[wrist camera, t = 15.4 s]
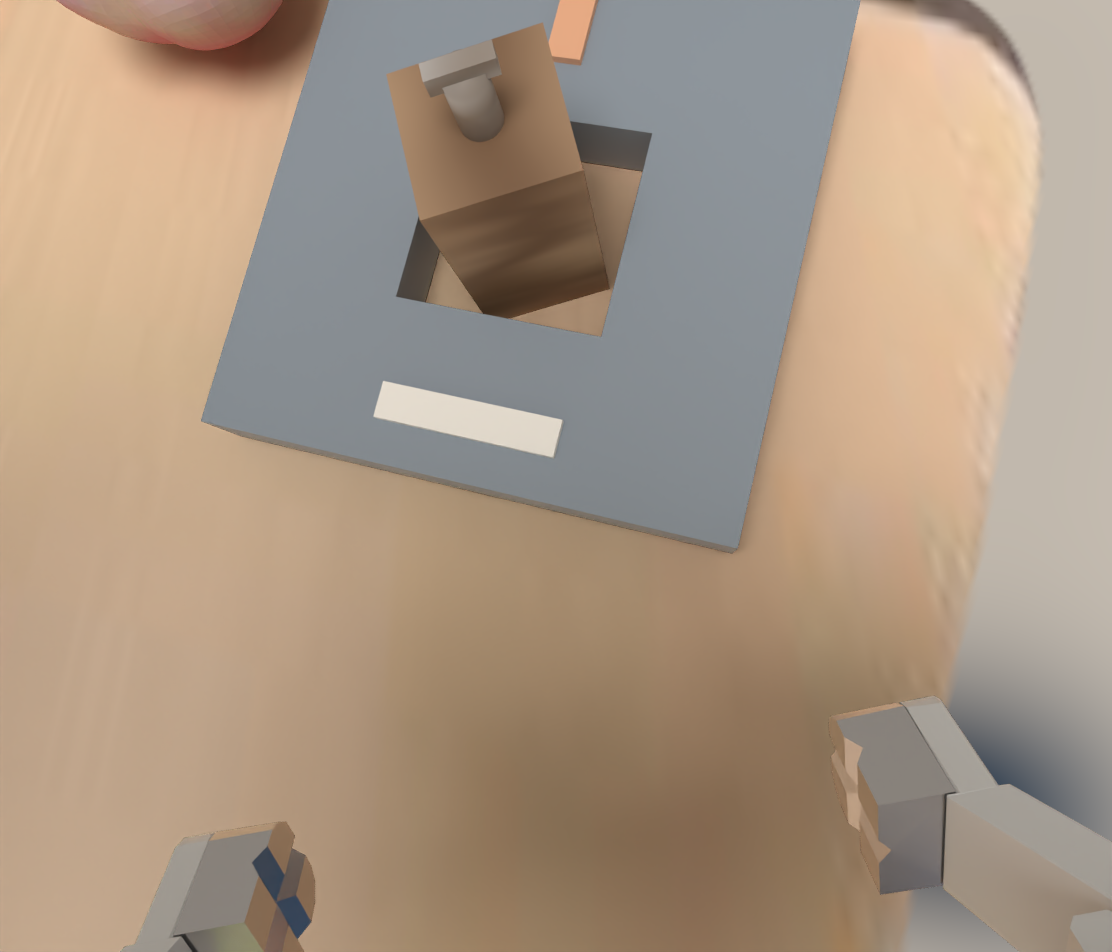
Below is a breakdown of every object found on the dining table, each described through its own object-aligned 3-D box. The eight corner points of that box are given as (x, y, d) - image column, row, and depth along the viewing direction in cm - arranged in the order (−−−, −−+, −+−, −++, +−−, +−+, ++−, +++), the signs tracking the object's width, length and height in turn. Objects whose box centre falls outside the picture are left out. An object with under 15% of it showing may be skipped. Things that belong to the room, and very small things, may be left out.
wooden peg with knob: (490, 323, 29) (387, 173, 19) (463, 213, 30) (350, 11, 19) (609, 288, 28) (570, 114, 18) (579, 177, 29) (525, -50, 19)
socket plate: (240, 436, 30) (195, 419, 27) (372, -7, 32) (343, -64, 29) (732, 553, 26) (738, 548, 24) (844, 52, 28) (862, -7, 26)
